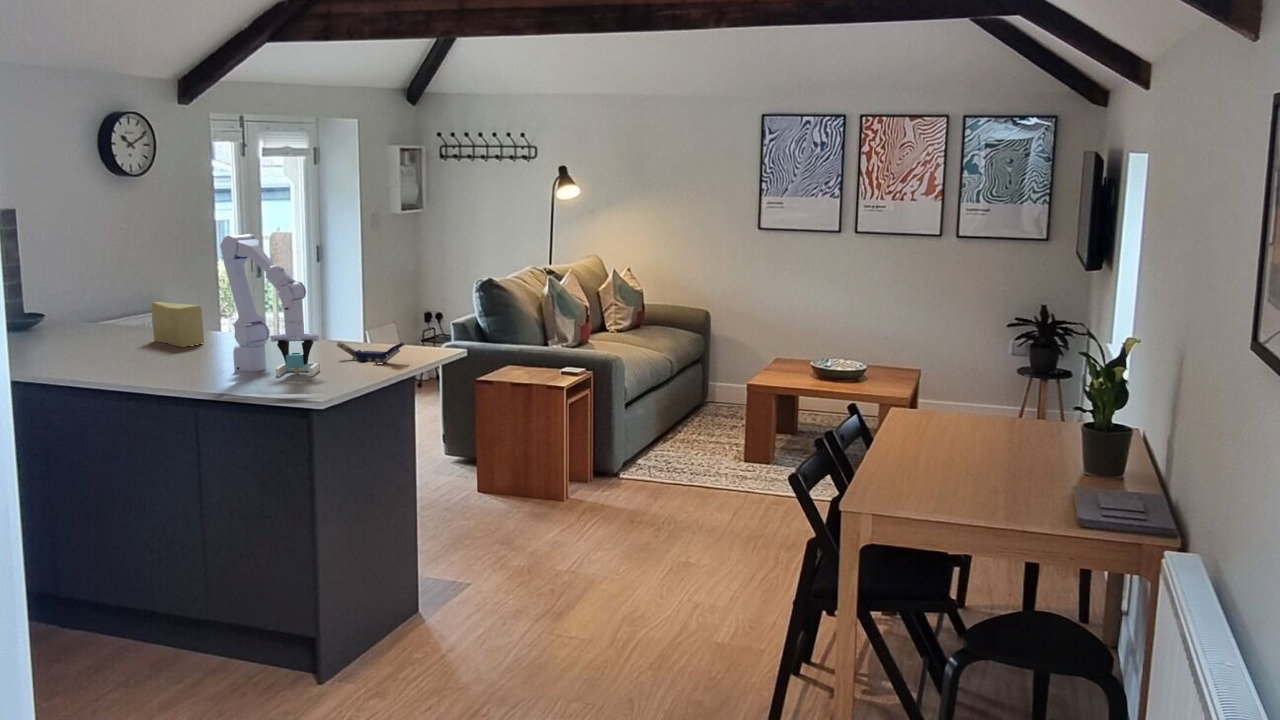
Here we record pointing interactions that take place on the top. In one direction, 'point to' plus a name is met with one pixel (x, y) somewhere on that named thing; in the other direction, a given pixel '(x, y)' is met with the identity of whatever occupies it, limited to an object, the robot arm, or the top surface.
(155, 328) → the cheese
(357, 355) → the toy
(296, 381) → the board
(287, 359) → the blue square hollow block
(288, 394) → the top surface
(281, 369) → the white u-shaped piece
